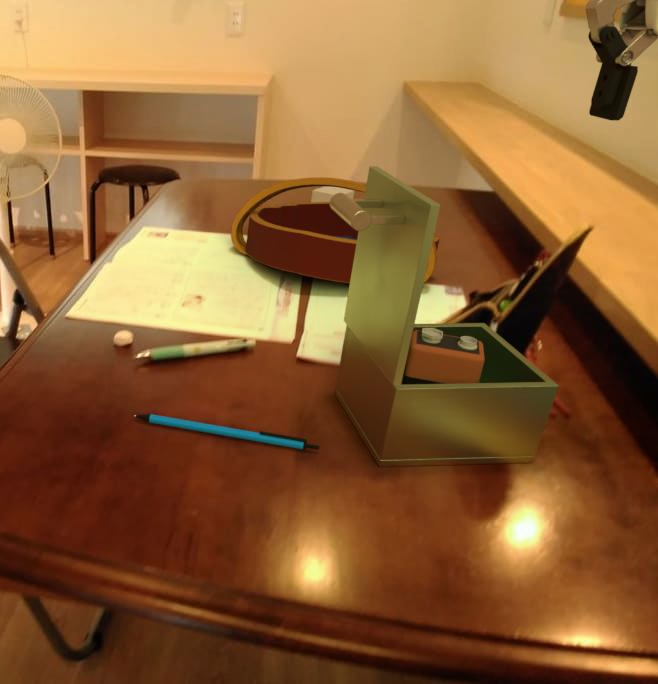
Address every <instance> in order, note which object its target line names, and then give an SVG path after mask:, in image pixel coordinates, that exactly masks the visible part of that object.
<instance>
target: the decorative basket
mask: <svg viewBox="0 0 658 684" xmlns="http://www.w3.org/2000/svg"><path fill="white" fill-rule="evenodd" d="M366 185H367V184H364V183H361V182H359V181H353V180H349V179H344V178H343V179H342V178H335V177H322V176H321V177H302V178H295V179H290V180H286V181H281V182H279V183H276V184H273V185H271V186H268V187H266V188H264V189H262V190H260V191H259V192H257V193H256V194H254V195H253V196H252V197H251V198H250V199H248V200H247V201H246V202H245V203H244V205H243V206H241V208H240V209H239V211H238V212H237V214H236V216H235V218H234V219H233V222H232V225H231V227H230V239H231V242H232V245H233V246H234V248H235V249H236V250H237V251H238V252H239V253H241V254H243V255H246V256H249V257H250V258H252V259H253V260H255V261H256V262H258V263H260V264H263V265H264V266H265V265H266V266H268V267H270V268H275V269H276V270H277V269H278V270H282V271H284V272H285V271H286V272H289V273H294V274H298V275H301V276H306V277H311V278H316V279H320V280H326V281H330V282H331V281H332V282H338V283H346V284H350V280H351V274H352V268H353V262H354V256H355V250H356V244H357V238H358V232H359V231H356V230H354V229H353V228H352V227H351V226H350V225H349V224H348V223H347V222H345V221H344V220H343V219H342V218H341V217H340V216H339V215H338V214H337V213H335V212H334V211H333V210H332V209H331V207H330V202H311V201H309V202H307V201H306V202H305V201H304V202H292V203H285V204H284V203H283V204H275V205H263V204H264V203H266V202H267V201H269V200H271V199H273V198H274V197H276V196H279V195H280V194H283V193H287V192H289V191H293V190H296V189H302V188H310V187H313V188H314V187H324V186H328V187H339V188H344V189H348V190H353V191H357V192H359V193H364V194H365V191H366ZM247 219H248V228H247V236H246V239H245V237H244V233H243V231H244V229H243V228H244V224H245V223H246V220H247ZM439 243H440V238H439V237H437V236H436V235H434V237H433V242H432V246H431V251H430V256H429V260H428V265H427V269H426V274H425V278H424V283H423V285H424V284H425V283H426V282H427V281H428V280H429V279H430V278H431V276H432V275H433V273H434V271H435V269H436V267H437V263H438V248H439Z"/></svg>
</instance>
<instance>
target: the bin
mask: <svg viewBox="0 0 658 684" xmlns="http://www.w3.org/2000/svg"><path fill="white" fill-rule="evenodd" d="M423 328H435V329H437V330H440V331H443V335H449V336H455V337H462V336H469V337H473V338H475V339H476V340H478V341H481V342H482V343H483V349H484V359H485V361H484V365H483V368H482V372H481V375H480V379H479V382H478V383H464V384H410V385H401V384H392V383H391V381H390V380H389V379H388V377H387V376H386V375H385V374H384V372H383V371H382V370H381V368H380V367H379V366H378V364H377V363H376V362H375V361H374V359H373V358H372V357H371V355H370V354H369V353H368V352H367V350H366V349H365V348H364V346H363V345H362V344H361V342H360V341H359V340H358V339H357V337H356V336H355V335H354V333H353V332H352V331H351V329H350V328H349V327H348V326H347V324H346V325H345V332H344V337H343V342H342V348H341V355H340V361H339V365H338V370H337V371H338V372H337V377H336V383H335V390H334V395H335V397H336V398H337V400H338V402H339V403H340V405H341V406H342V408H343V410H344V412H345V413H346V416H348V418H349V420H350V422H351V423H352V425H353V426H354V428H355V429H356V431H357V433H358V435H359V436H360V438H361V440H362V441H363V443H364V445H365V446H366V448H367V449H368V451H369V453H370V455H371V456H372V458H373V459H374V461H375V463H376V464H377V466H378V467H379V468H380V467H381V468H389V467H419V466H420V467H421V466H422V467H426V466H459V465H460V466H461V465H462V466H463V465H464V466H465V465H495V464H496V465H497V464H499V465H500V464H531V463H534V460H535V457H536V454H537V452H538V448H539V446H540V444H541V440H542V437H543V435H544V431H545V428H546V425H547V422H548V419H549V416H550V414H551V410H552V407H553V405H554V402H555V400H556V396H557V393H558V392H559V391H558V390H559V388H560V385H559V384H558V383H557V382H555V381H554V380H553V379H552V378H551V377H549V376H548V375H547V374H546V373H544V371H542V370H541V369H540V368H539V367H537V366H536V365H535V364H534V363H533V362H531V361H530V360H529V359H528V358H527V357H525V356H524V355H523V354H522V353H521V352H519V351H518V350H517V348H515V347H514V346H512V345H511V344H510V343H509V342H507V341H506V340H505V339H504V338H503V337H502V336H501V335H499V333H498V332H496V331H495V330H494V329H492V328H491V327H490V326H488V325H487V324H486V323H485V322H456V323H455V322H452V323H449V322H448V323H446V322H445V323H442V322H441V323H415V324H414V328H413V331H415V330H419V331H422V329H423Z"/></svg>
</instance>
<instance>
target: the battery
mask: <svg viewBox="0 0 658 684" xmlns="http://www.w3.org/2000/svg"><path fill="white" fill-rule="evenodd" d="M484 361H485V359H484V349H483V343H482V342H481V341H478V340H476V339H475V338H473V337H469V336H462V337H455V336H449V335H443V331H440V330H437V329H435V328H423V329H422V331H419V330H415V331H413V333H412V337H411V342H410V346H409V351H408V355H407V360H406V364H405V369H404V373H403V378H402V382H401V385H410V384H464V383H478V382H479V379H480V375H481V372H482V368H483V365H484Z"/></svg>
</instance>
